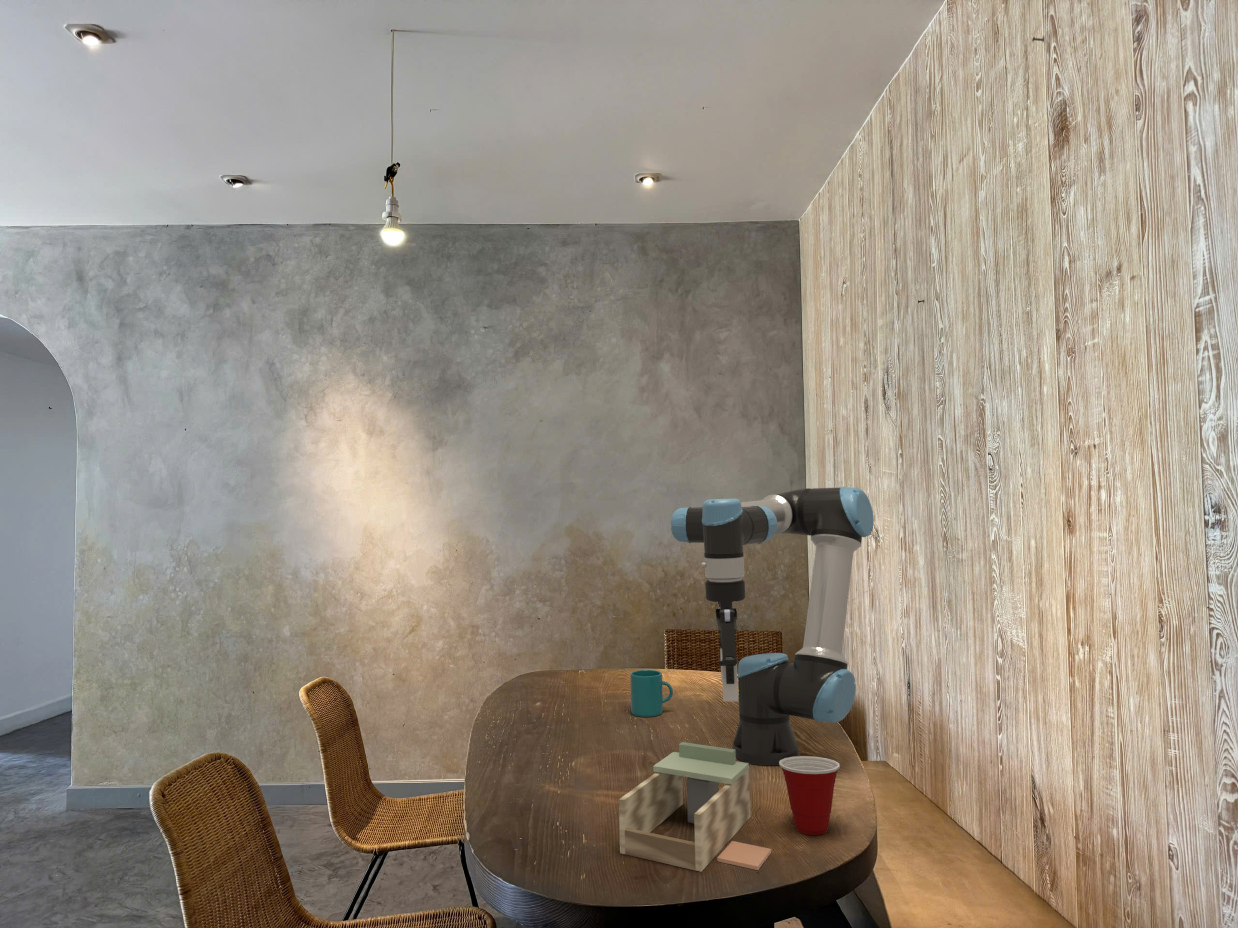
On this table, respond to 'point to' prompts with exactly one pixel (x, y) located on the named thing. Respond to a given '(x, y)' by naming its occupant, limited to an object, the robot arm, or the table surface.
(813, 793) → the plastic cup
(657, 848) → the wooden box
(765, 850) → the terracotta coaster
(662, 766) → the cover
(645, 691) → the cup
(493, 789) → the table surface
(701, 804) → the slate block
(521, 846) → the table surface
